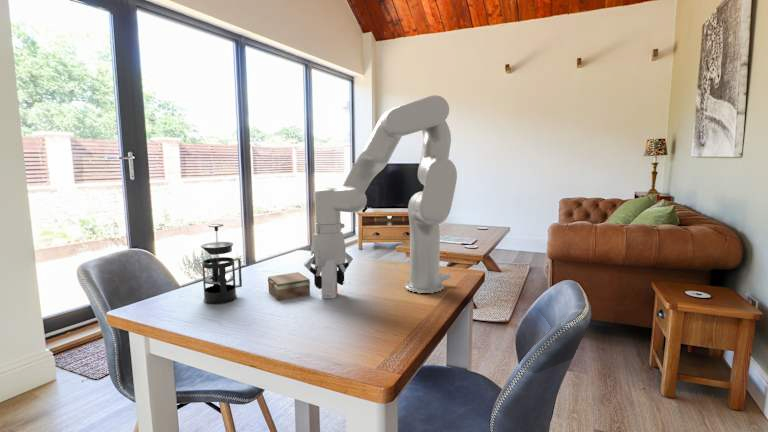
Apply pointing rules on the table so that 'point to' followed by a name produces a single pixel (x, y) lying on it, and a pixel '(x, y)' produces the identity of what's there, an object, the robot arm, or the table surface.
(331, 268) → the skincare box
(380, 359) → the table surface
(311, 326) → the table surface
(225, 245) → the french press
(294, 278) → the gift box
